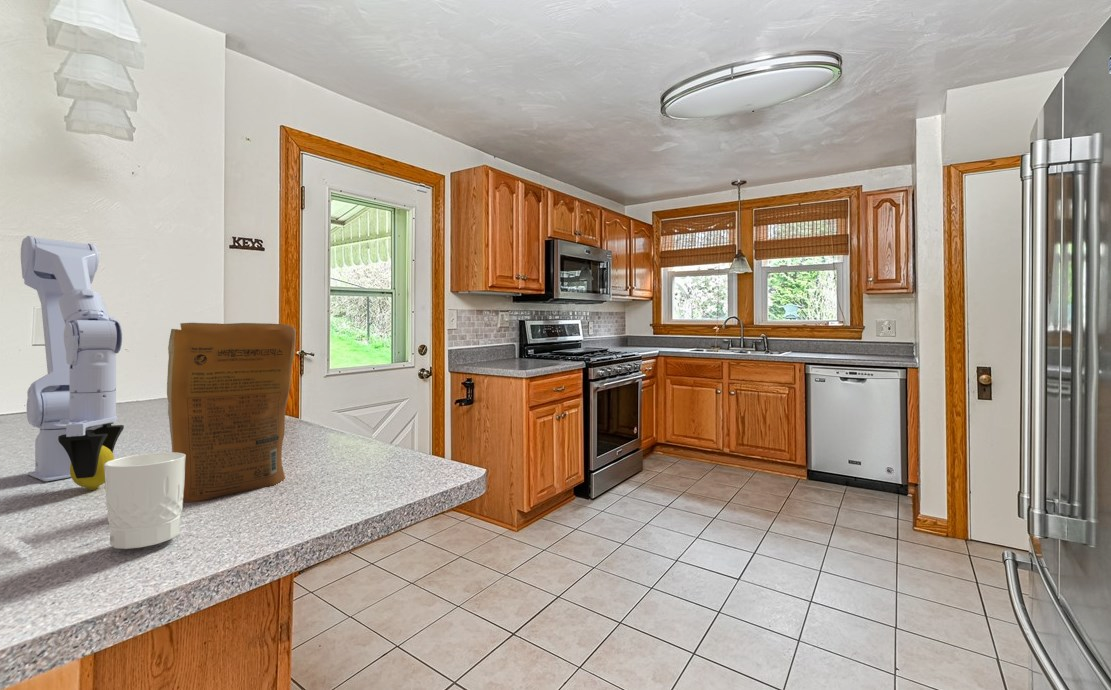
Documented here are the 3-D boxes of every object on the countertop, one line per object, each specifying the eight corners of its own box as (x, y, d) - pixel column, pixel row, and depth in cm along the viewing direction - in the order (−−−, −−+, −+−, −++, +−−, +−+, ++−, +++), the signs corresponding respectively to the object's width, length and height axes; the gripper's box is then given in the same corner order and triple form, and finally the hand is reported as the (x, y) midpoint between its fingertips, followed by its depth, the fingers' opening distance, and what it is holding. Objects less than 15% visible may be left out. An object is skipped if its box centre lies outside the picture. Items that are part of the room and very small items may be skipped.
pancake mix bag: (304, 483, 88) (304, 324, 88) (169, 511, 73) (170, 319, 73) (287, 477, 92) (288, 325, 92) (158, 501, 77) (158, 321, 77)
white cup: (136, 528, 66) (136, 452, 66) (199, 526, 67) (199, 451, 67) (85, 552, 58) (85, 467, 58) (157, 550, 59) (157, 465, 59)
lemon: (87, 496, 80) (87, 446, 80) (60, 494, 81) (60, 445, 81) (123, 486, 86) (123, 440, 86) (98, 485, 87) (98, 439, 87)
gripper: (79, 389, 88) (79, 466, 88) (39, 396, 75) (39, 486, 75) (130, 387, 91) (130, 462, 91) (100, 394, 78) (100, 481, 78)
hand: (93, 473), depth 83 cm, fingers closed on lemon, 5 cm apart
